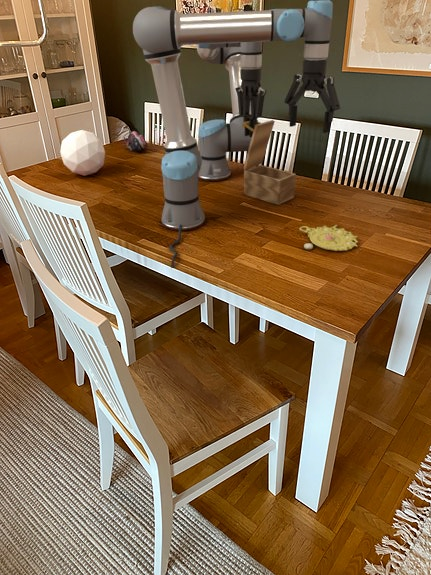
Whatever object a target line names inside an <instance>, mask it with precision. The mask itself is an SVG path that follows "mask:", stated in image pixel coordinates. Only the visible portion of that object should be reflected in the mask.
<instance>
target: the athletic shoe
mask: <svg viewBox="0 0 431 575" xmlns="http://www.w3.org/2000/svg"><path fill="white" fill-rule="evenodd" d="M127 138H128V139H126V137H123V140H124V143H123V142H122V143H121V145H123V146H126V147H127V148H128V150H129V151H130V152H137V153H138V152H139V151H142V150H143V149H148V148H149V144H148V143H147V141H146V139H145V137H144V135H143V134H139V133H138V132H137V131H136V130H133V131H131V132H130V133H129V135H128V137H127Z"/></svg>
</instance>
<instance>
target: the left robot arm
mask: <svg viewBox="0 0 431 575" xmlns="http://www.w3.org/2000/svg"><path fill="white" fill-rule="evenodd" d="M333 4H334V3H333V1H331V0H309V1H308V2H307V6H306V7H305V8H274V9H268V10H267V9H265V10H243V11H242V10H241V11H223V12H221V11H219V12H218V11H217V12H200V13H199V12H198V13H197V12H196V13H180V11H179V10H177V9H168V8H165V7H163V6H160V5H158V6H147V7H144V8H143V9H140V11H138V12H137V14H136V16H135V17H134V19H133V22H132V34H133V38H134V40H135V42H136V43H137V45H138V46H139V47H140V48H141V49H142V52H143V57H144V60H145V61H146V62H147V63H148V64H149V65H150V66H151V67H150V68H151V72H152V76H153V81H154V86H155V90H156V95H157V98H158V104H159V108H160V113H161V118H162V122H163V127H164V132H165V135H166V136H165V137H166V142H165V143H164V145H163V147H164V152H165V155H163V156H162V158H161V166H160V168H161V173H162V175H161V176H162V184H163V194H164V204H163V209H162V213H161V219H160V220H161V225H162V227H163V228H165V229H167V230H170V231H175V232H176V231H177V232H178V233H177V239H176V240H175V241H173V242H172V243H171V244H169V249H170V250H171V251H172V252H173V253H174V254H173V256H172V258H171V261H170V262H171V263H170V268H171V269H174V268H175V261H176V259H177V257H178V251H177V250H176V249H175V248H173V247H174V246H176V245H177V244H179V243H180V241H181V238H182V232H185V231H186V232H187V231H192V230H195V229H198V228H201V227H202V226H203V225H204V224H205V223H206V216H205V212H204V210H203V208H202V204H201V202H200V196H199V179H198V175H199V171H200V169H201V164H202V158H201V155H200V152H199V144H198V141H197V139H196V138H195V137H194V136H192V131H191V127H190V121H189V116H188V111H187V104H186V100H185V95H184V89H183V83H182V78H181V77H182V76H181V72H180V67H179V61H178V60H179V58H180V56H181V54H182V52H181V48H182V47H183V46H188V45H189V46H190V45H197V44H216V43H239V42H262V43H263V42H286V43H290V42H295V41H296V40H297V39H299V38H304V45H303V55H302V56H303V58H304V59H303V60H302V70H301V71H302V74H301V73H297V74H294V75H293V80H292V84H291V85H290V88H289V90H288V92H287V94H286V97H285V99H284V104H287V105H288V116H289V127H290V128H292V127H295V126H297V118H298V117H297V116H298V105H297V104H298V102H299V100H300V99H301V98H302V97H303V96H304V95H305V93H306V92H312V93H313V92H314V93H317V94H318V96H319V97H320V100H321V101H322V103H323V105H324V107H325V109H326V111H325V112H324V119H323V128H322V133H323V134H326V133H329V132H330V128H331V123H332V122H333V121H334V114H335V111H338V110H340V109H341V105H340V101H339V97H338V94H337V91H336V86H335V76H330V77H326V74H327V70H328V59H327V58H328V57H329V50H330V40H331V30H332V22H333V8H334V5H333ZM301 82H302V84H301ZM325 85H326V87H325ZM298 88H299V89H298Z"/></svg>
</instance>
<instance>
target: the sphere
mask: <svg viewBox="0 0 431 575" xmlns="http://www.w3.org/2000/svg"><path fill="white" fill-rule="evenodd" d="M59 153H60V156H61V159H62V162H63V165H64V166H65V167H66V168H67V169H68V170H69V171H70V172H72V173H73V174H76V175H81V176H84V177H86V176H89V175H93V174H95V173H97V172H98V171H99V170H100V169H101V168H102V167H103V166H104V163H105V157H106V151H105V147H104V144H103V141H102V140H101V139H100V138H99V137H98V136H97V135H96V134H95V133H94V132H91V131H88V130H85V129H80V130H76V131H73V132H70V133H69V134H68V135H67V136H66V137H65V138H64V139H63V140H62V141H61V145H60V152H59Z"/></svg>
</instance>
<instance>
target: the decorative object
mask: <svg viewBox="0 0 431 575" xmlns="http://www.w3.org/2000/svg"><path fill="white" fill-rule="evenodd" d="M303 228H304V229H305V230H304V229H303ZM299 231H300V232H303V233H305V234H307V237H308V238H309V240H310V241H311V243H304V244H303V248H304V249H305V250H313V249H314V245H315V246H316V247H318V248H321V249H324V250H328V251H335V252H341V251H348V250H352V249H354V247H356V248H358V247H359V245H358V244H357V243H359V240H357V238H359V237H358V235H353V234H352V231H347V230H346V229H345V228H344V227H342V228H338V224H335V225H333V226H331V227H328V226H327V225H326V224H325V225H323V226H322V227H321V226H317V227H316V228H314V227H309V226H308V225H302V226H300V227H299ZM313 244H314V245H313Z"/></svg>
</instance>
